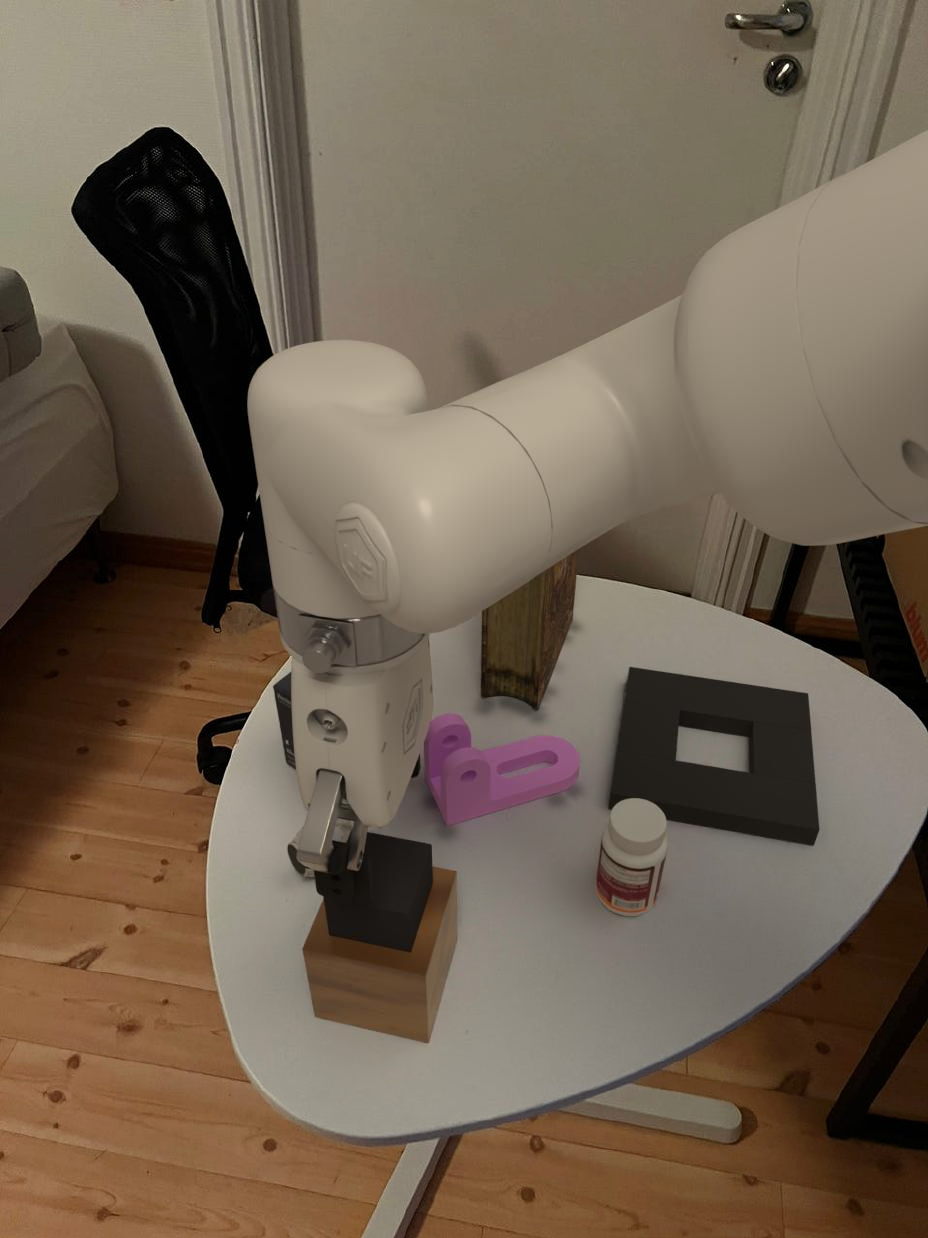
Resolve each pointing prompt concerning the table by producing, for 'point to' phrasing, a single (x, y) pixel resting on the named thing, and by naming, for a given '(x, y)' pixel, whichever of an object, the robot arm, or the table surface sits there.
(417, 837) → the table surface
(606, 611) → the table surface
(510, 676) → the book
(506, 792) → the bracket
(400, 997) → the wooden block
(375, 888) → the pad
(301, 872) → the wristwatch
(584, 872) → the table surface
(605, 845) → the pill bottle
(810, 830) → the base pad
